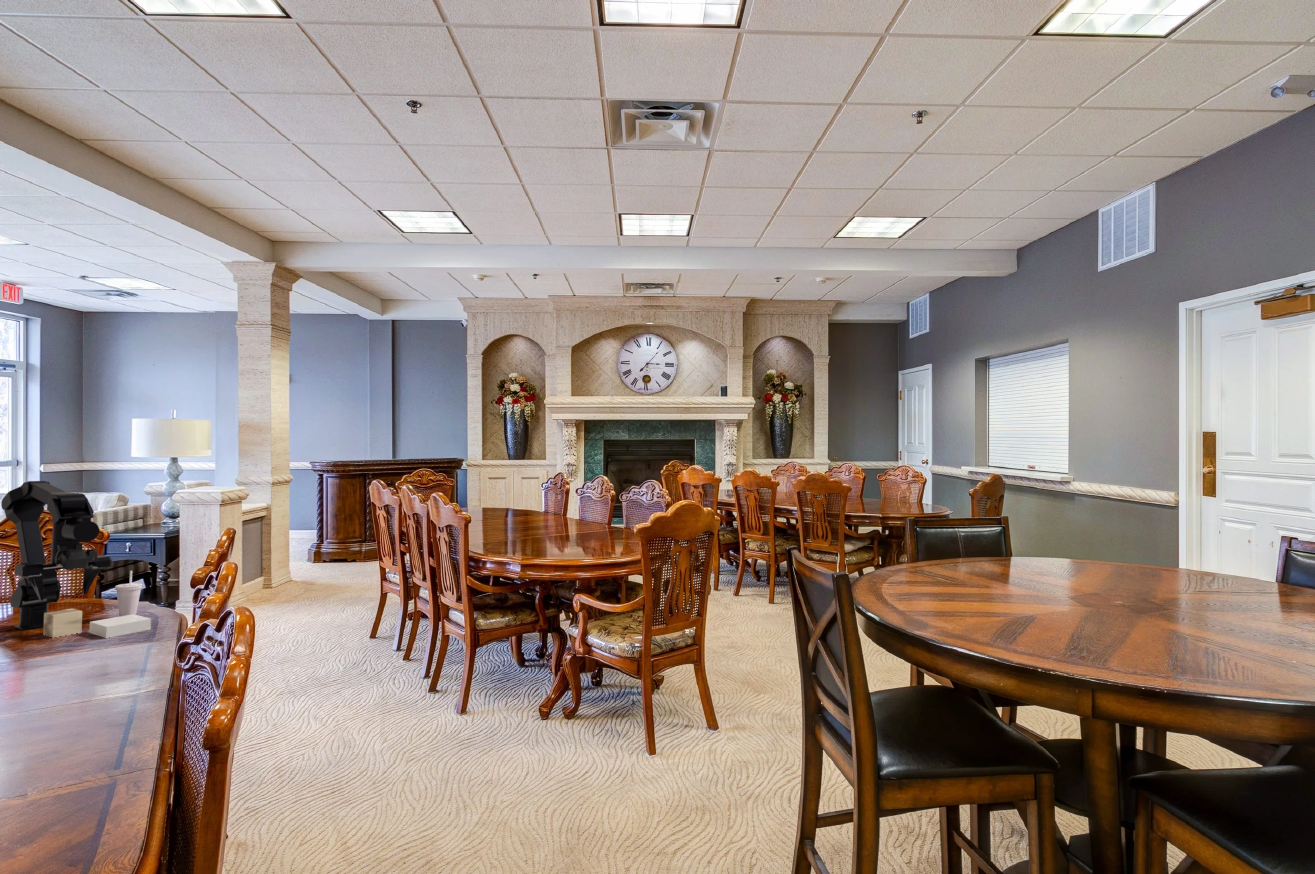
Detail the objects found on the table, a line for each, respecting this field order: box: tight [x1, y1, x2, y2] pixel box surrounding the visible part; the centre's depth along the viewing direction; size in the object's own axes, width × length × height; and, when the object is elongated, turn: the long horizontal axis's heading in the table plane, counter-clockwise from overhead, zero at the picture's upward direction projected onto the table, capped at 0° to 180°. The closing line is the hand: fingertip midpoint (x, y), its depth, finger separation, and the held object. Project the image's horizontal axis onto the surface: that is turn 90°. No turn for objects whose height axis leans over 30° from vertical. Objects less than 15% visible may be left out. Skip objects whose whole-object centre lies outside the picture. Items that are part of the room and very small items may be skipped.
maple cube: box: [42, 608, 83, 639], centre depth 172 cm, size 6×6×6 cm
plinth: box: [89, 614, 152, 639], centre depth 175 cm, size 10×10×3 cm
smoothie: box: [114, 570, 143, 617], centre depth 190 cm, size 6×6×14 cm
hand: (63, 597), depth 172 cm, fingers open, 9 cm apart
